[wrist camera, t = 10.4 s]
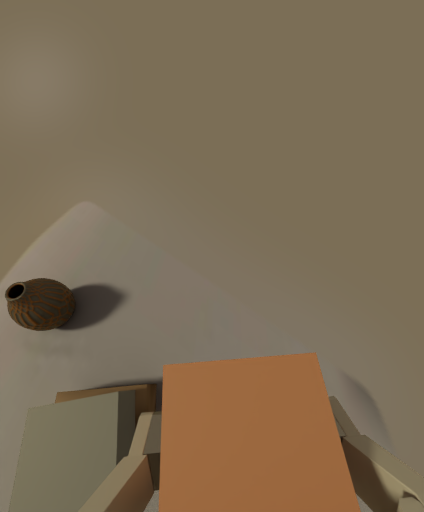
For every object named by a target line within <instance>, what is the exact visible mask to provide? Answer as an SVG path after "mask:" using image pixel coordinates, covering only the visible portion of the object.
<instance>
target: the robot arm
mask: <svg viewBox="0 0 424 512" xmlns="http://www.w3.org/2000/svg"><path fill="white" fill-rule="evenodd" d="M328 398H329V401H330V405H331V408H332V412H333V416H334V419H335V423H336V426H337V430H338V433H339V437H340V440H341V444H342V448H343V451H344V455H345V458H346V462H347V465H348V469H349V472H350V476H351V479H352V483H353V487H354V490H355V493H356V494H357V495H358V496H359V497H360V498H361V499H362V500H363V501H364V502H365V503H366V504H367V505H368V506H369V508H370V509H371V510H372V511H373V512H424V477H422V476H421V475H420V474H418V473H417V472H416V471H414V470H413V469H411V468H410V467H409V466H407V465H406V464H404V463H403V462H402V461H400V460H399V459H398V458H396V457H395V456H393V455H392V454H391V453H389V452H388V451H386V450H385V449H384V448H382V447H381V446H379V445H378V444H377V443H375V442H374V441H372V440H371V439H370V438H368V437H367V436H365V435H360V433H359V432H358V430H357V429H356V427H355V426H354V424H353V423H352V421H351V420H350V418H349V417H348V415H347V414H346V412H345V411H344V409H343V408H342V406H341V405H340V403H339V402H338V400H337V399H336V398H335V397H334V396H331V397H328ZM161 423H162V411H157V412H144V413H141V415H140V417H139V420H138V423H137V427H136V430H135V434H134V437H133V441H132V444H131V448H130V451H129V454H128V456H126V457H123V459H122V460H121V461H120V462H119V463H118V465H117V466H116V467H115V468H114V469H113V471H112V472H111V473H110V474H109V475H108V476H107V478H106V479H105V480H104V481H103V482H102V484H101V485H100V486H99V487H98V488H97V490H96V491H95V492H94V493H93V494H92V496H91V497H90V498H89V499H88V500H87V501H86V503H85V504H84V505H83V506H82V507H81V509H80V510H79V511H78V512H143V511H144V510H145V508H146V506H147V504H148V503H149V501H150V499H151V497H152V495H153V494H154V491H155V490H159V486H160V454H161Z"/></svg>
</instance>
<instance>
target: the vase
mask: <svg viewBox="0 0 424 512" xmlns="http://www.w3.org/2000/svg"><path fill="white" fill-rule="evenodd" d="M5 298H6V299H7V306H8V312H9V314H10V316H11V318H12V319H13V320H14V321H15V322H16V323H17V324H19V325H20V326H22V327H24V328H27V329H31V330H36V331H45V330H51V329H54V328H57V327H59V326H61V325H62V324H64V323H65V322H66V321H67V320H68V319H69V318H70V317H71V315H72V313H73V311H74V308H75V299H74V296H73V294H72V292H71V291H70V289H69V288H67V287H66V286H65V285H64V284H62V283H60V282H58V281H55V280H52V279H46V278H38V279H32V280H29V281H26V282H17V283H14V284H12V285H11V286H10V287H9V288H8V289H7V290H6V292H5Z"/></svg>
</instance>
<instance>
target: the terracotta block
mask: <svg viewBox="0 0 424 512" xmlns="http://www.w3.org/2000/svg"><path fill="white" fill-rule="evenodd" d="M159 512H361V511H360V508H359V504H358V501H357V497H356V494H355V490H354V487H353V483H352V479H351V476H350V472H349V469H348V465H347V462H346V458H345V455H344V451H343V448H342V444H341V440H340V437H339V433H338V430H337V426H336V423H335V419H334V416H333V412H332V408H331V405H330V401H329V398H328V394H327V391H326V387H325V384H324V380H323V376H322V373H321V369H320V366H319V362H318V359H317V355H316V353H305V354H293V355H281V356H269V357H256V358H244V359H232V360H220V361H208V362H196V363H184V364H171V365H163V391H162V423H161V454H160V486H159Z"/></svg>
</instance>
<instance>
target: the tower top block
mask: <svg viewBox="0 0 424 512" xmlns="http://www.w3.org/2000/svg"><path fill="white" fill-rule="evenodd" d="M134 434H135V390H127V391H118V392H113V393H108V394H102V395H97V396H92V397H87V398H81V399H76V400H71V401H66V402H60V403H55V404H50V405H45V406H39V407H34V408H29V409H28V413H27V418H26V423H25V429H24V434H23V439H22V444H21V449H20V455H19V460H18V465H17V470H16V475H15V481H14V486H13V491H12V496H11V501H10V507H9V512H78V511H79V510H80V509H81V507H82V506H83V505H84V504H85V503H86V501H87V500H88V499H89V498H90V497H91V496H92V494H93V493H94V492H95V491H96V490H97V488H98V487H99V486H100V485H101V484H102V482H103V481H104V480H105V479H106V478H107V476H108V475H109V474H110V473H111V472H112V471H113V469H114V468H115V467H116V466H117V465H118V463H119V462H120V461H121V460H122V459H123V457H126V456H128V454H129V451H130V448H131V444H132V441H133V437H134Z"/></svg>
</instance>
